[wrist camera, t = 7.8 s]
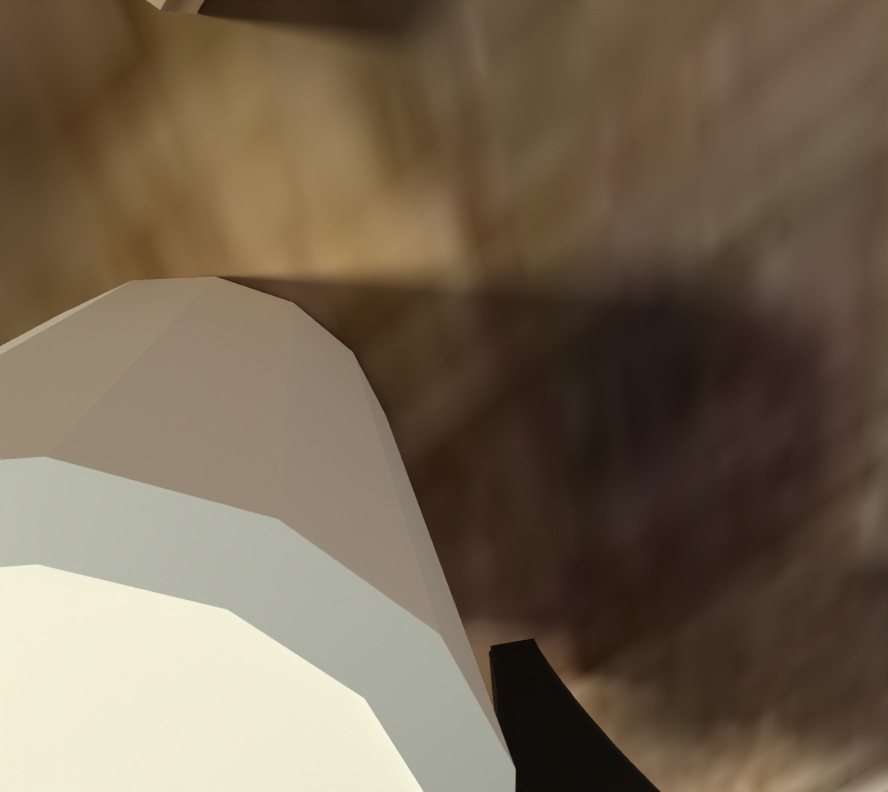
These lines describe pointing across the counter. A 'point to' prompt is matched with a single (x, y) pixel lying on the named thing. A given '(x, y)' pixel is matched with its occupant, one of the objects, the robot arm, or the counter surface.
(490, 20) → the counter surface
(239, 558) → the white cup
